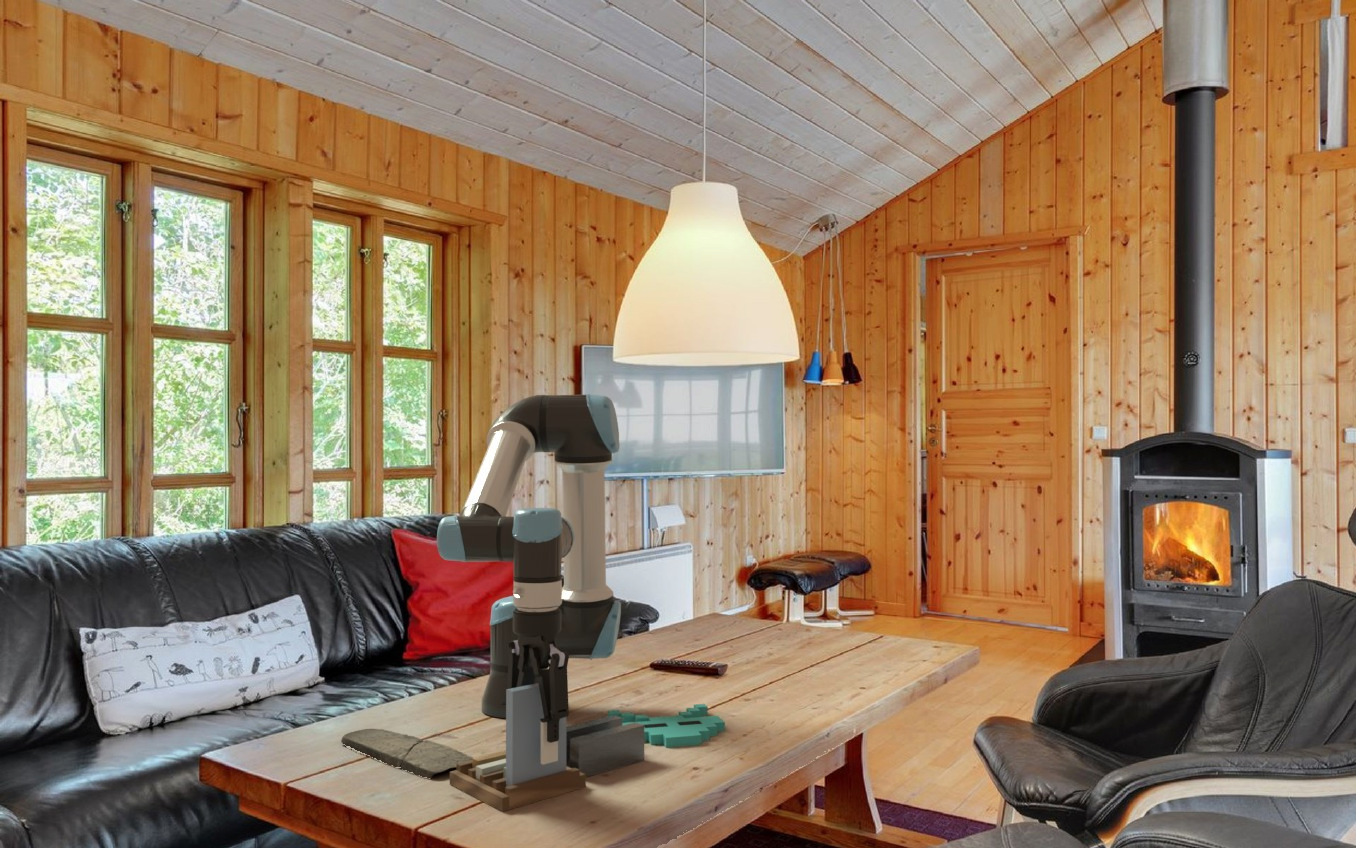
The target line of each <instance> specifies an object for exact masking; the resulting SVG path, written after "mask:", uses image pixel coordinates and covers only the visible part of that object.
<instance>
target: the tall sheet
mask: <svg viewBox="0 0 1356 848" xmlns="http://www.w3.org/2000/svg"><path fill="white" fill-rule="evenodd" d="M550 712H551V711H550ZM542 718H544V713H543V707H542V701H541V695H540V689H539V683H536V684H531V685H526V686H521V687H516V688H511V689H506V718H505V719H506V720H505V728H506V729H505V740H506V741H505V750H506V787H508V786H511V785H515V784H519V783H522V782H526V781H529V780H533V779H537V778H540V777H544V776H547V775H551V774H555V773H558V772H562V771H566V727H567V717H564V718H561V719H560V720H559V740H558V761H555V762H551V763H547V764H544V765H543V764H541V720H540V719H542Z"/></svg>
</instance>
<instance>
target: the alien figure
mask: <svg viewBox="0 0 1356 848" xmlns="http://www.w3.org/2000/svg"><path fill="white" fill-rule="evenodd" d="M708 709H709V708H708V705H706V704H705V703H698V704H693V707H686V709H685V710H686V711H678V714H677V715H665V716H654V717H652V716H648V715H647V714H636V715H635V714H634V713H633V711H631V712H630V711H629V712H628V711H627V712H621V711H620V709H615V710H614V709H613V710H611V709H610V710H607V717H609V716H613V715H615V716H618V717H621V718H622V726H623V725H627V724H631V723H635V722H636V723H639V724H642V725H644V741H647V742H648V741H649V742H648V743H649V744H650V745H651V746H652V745H653V744H654V745H653V746H655V744H657V745H663V746H664V747H665V748H667V749H668V748H677V747H679V746H680V747H690V746H691V747H692V746H700V745H701V746H702V742H703V741H710V740H711V739H710V737H715V736H718V733H719V732H718V731H722V732H725V731H726V722H725V720H723V718H721V717H720V716H719V715H709V716H708V714H709V713H708V711H709V710H708ZM704 715H707V716H704ZM680 747H679V748H680Z"/></svg>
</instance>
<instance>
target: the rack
mask: <svg viewBox="0 0 1356 848" xmlns="http://www.w3.org/2000/svg"><path fill="white" fill-rule="evenodd" d="M455 768H456V769H455V770H452V771H449V785H450V784H451V785H450V786H452V787H454V788H456V787H457V788H456V789H457V790H460V791H461V790H462V791H461V792H463V791H464V793H466V794H468V795H469V796H471V797H473V796H474V797H473V798H475V799H478V800H479V801H481V802H483V803H484V804H487V805H489V806H491V807H493V808H494V809H496V810H498V811H500V812H507V811H509V810H513V809H516V808H519V807H523V806H526V805H530V804H533V803H537V802H540V801H543V800H547V799H550V798H554V797H557V796H561V795H563V794H567V793H570V792H573V791H577V790H580V789H583V788H586V786H587V785H586V784H587V783H586V781H587V780H586V779H587V777H586V774H584V773H581V772H580V770H579V769H577V768H573V769H572V768H569V767H567V766H566V771H562V772H558V773H555V774H551V775H547V776H544V777H540V778H537V779H533V780H529V781H526V782H522V783H519V784H515V785H511V786H508V787H506V778H503V769H502V770H498V771H494V772H490V773H486V774H482V775H480V781H478V780H476V768H472V760H470V761H466V762H462V763H458V764H457V766H456V767H455Z"/></svg>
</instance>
